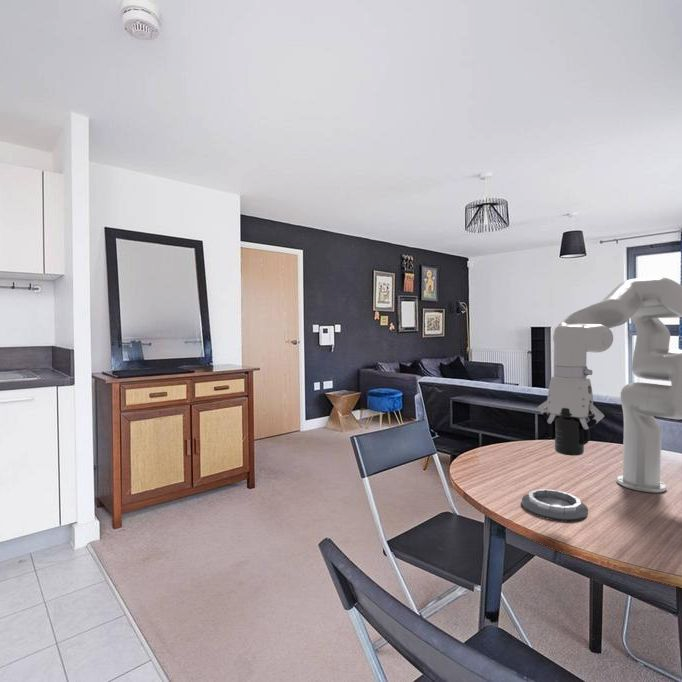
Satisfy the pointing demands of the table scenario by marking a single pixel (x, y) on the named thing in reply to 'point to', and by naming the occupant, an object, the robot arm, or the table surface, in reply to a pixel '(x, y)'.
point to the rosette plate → (554, 515)
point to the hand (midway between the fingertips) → (568, 440)
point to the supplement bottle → (568, 434)
